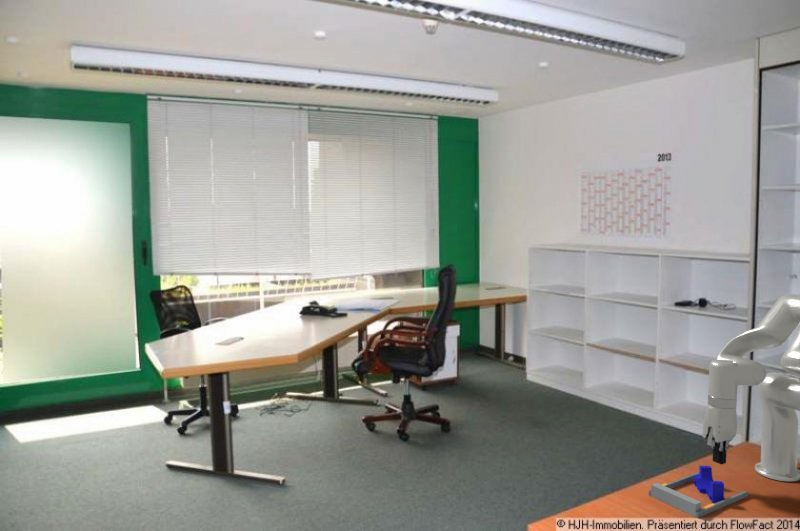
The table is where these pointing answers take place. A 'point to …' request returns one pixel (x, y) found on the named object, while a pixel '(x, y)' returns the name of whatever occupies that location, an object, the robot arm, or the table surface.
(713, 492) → the cable clip
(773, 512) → the table surface
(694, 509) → the u-shaped alignment fixture
